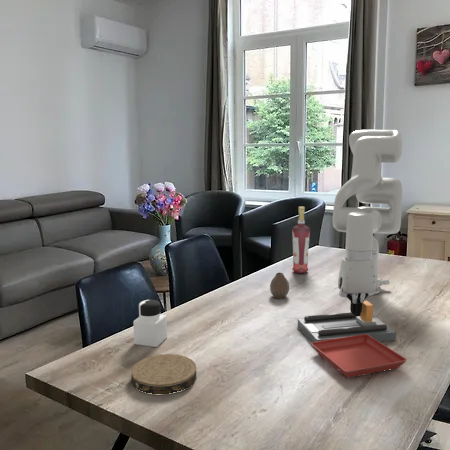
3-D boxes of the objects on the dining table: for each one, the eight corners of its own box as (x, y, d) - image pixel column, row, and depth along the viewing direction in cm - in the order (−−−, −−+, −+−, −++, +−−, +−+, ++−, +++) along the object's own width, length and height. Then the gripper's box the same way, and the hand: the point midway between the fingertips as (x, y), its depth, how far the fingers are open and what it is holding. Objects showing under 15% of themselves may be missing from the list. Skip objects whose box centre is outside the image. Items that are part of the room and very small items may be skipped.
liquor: (310, 274, 210) (311, 208, 204) (292, 274, 210) (293, 208, 204) (307, 269, 217) (309, 205, 211) (290, 269, 217) (291, 205, 212)
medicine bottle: (167, 337, 148) (166, 299, 146) (156, 347, 141) (154, 307, 139) (145, 334, 150) (144, 296, 148) (133, 344, 144) (132, 304, 141)
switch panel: (369, 320, 160) (369, 307, 159) (395, 340, 144) (396, 327, 144) (297, 326, 155) (297, 313, 154) (316, 348, 140) (317, 334, 139)
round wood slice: (203, 390, 119) (203, 378, 118) (135, 401, 114) (135, 389, 114) (189, 361, 134) (188, 350, 133) (128, 369, 129) (127, 358, 129)
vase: (288, 293, 186) (289, 270, 184) (289, 300, 179) (289, 276, 177) (270, 293, 187) (270, 270, 185) (269, 299, 180) (270, 275, 178)
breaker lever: (368, 319, 153) (369, 299, 152) (376, 325, 149) (377, 305, 147) (355, 320, 153) (356, 300, 151) (363, 326, 148) (364, 306, 147)
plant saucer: (309, 353, 138) (309, 341, 137) (366, 343, 143) (366, 332, 143) (345, 384, 121) (345, 371, 120) (407, 372, 126) (408, 360, 126)
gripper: (376, 250, 151) (373, 308, 154) (329, 252, 149) (327, 311, 152) (388, 256, 144) (385, 317, 147) (339, 259, 141) (337, 320, 145)
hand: (355, 314), depth 150 cm, fingers closed
